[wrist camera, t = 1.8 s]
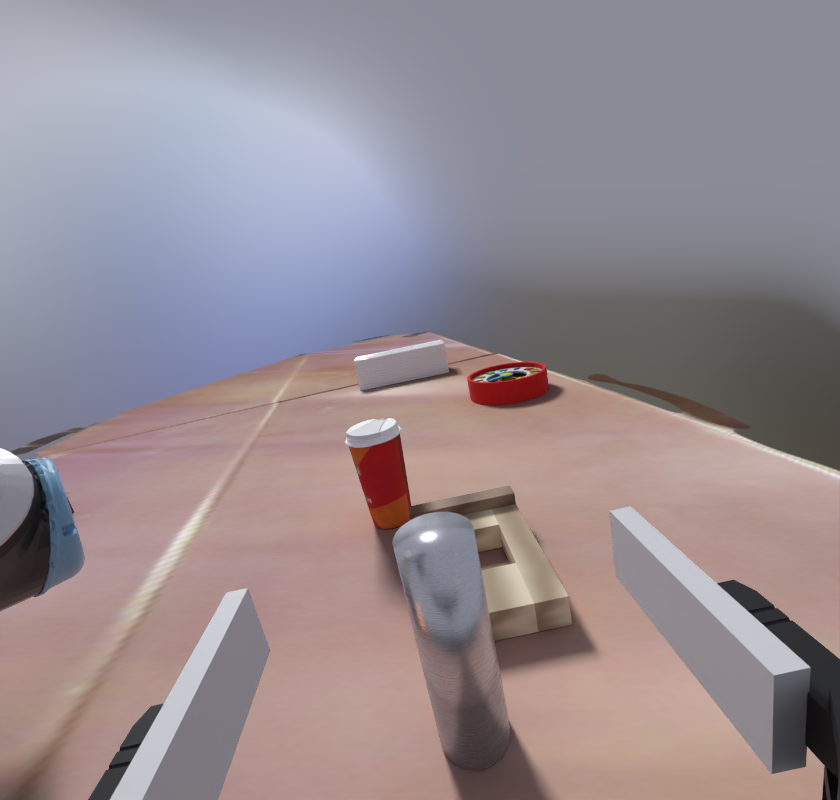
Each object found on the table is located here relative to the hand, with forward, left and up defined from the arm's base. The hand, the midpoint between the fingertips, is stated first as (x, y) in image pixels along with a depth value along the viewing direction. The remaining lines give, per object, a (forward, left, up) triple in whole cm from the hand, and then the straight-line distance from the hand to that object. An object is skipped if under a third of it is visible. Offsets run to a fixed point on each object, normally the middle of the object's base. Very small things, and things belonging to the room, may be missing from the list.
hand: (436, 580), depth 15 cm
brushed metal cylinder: (0, +10, -20) cm, 23 cm away
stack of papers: (-2, +137, -21) cm, 138 cm away
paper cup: (-6, +41, -20) cm, 46 cm away
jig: (+3, +26, -20) cm, 33 cm away
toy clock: (+25, +91, -21) cm, 97 cm away
